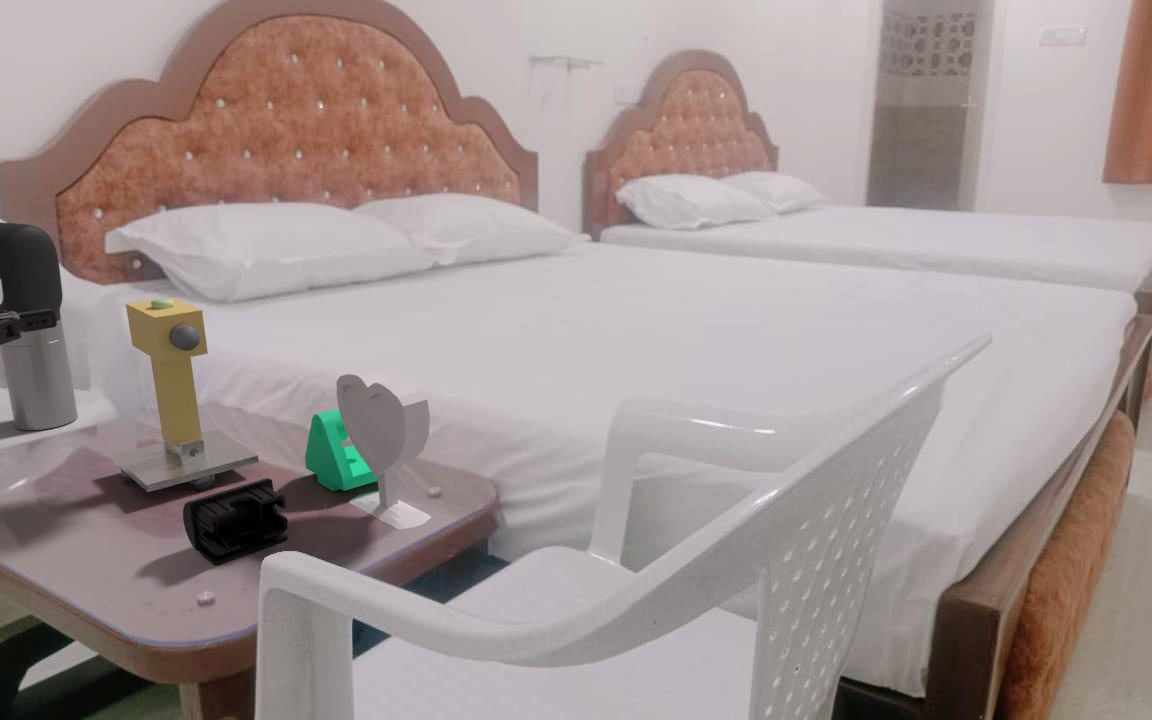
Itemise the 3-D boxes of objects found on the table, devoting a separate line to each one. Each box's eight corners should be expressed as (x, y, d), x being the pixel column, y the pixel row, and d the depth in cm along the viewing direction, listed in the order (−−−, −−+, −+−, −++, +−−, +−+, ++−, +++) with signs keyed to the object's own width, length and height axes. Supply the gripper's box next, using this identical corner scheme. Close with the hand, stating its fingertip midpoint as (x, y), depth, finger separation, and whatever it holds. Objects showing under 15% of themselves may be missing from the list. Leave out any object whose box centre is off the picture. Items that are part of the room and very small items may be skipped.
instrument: (141, 429, 130) (120, 296, 124) (183, 419, 134) (165, 289, 128) (180, 459, 118) (159, 313, 113) (225, 447, 122) (206, 306, 117)
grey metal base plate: (114, 474, 128) (108, 434, 126) (220, 447, 138) (215, 410, 136) (149, 506, 117) (142, 464, 116) (261, 475, 127) (256, 435, 125)
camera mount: (396, 482, 123) (389, 411, 120) (344, 498, 118) (336, 424, 115) (356, 461, 131) (349, 394, 129) (306, 475, 127) (298, 405, 124)
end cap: (266, 521, 113) (260, 471, 111) (293, 539, 108) (287, 488, 106) (186, 548, 106) (179, 495, 104) (211, 569, 101) (204, 514, 99)
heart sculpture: (340, 497, 119) (328, 368, 114) (372, 486, 123) (362, 360, 118) (407, 534, 109) (398, 393, 104) (441, 521, 112) (433, 384, 107)
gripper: (-115, 364, 107) (47, 336, 118) (-101, 389, 97) (74, 356, 108) (-131, 303, 105) (36, 280, 116) (-118, 322, 95) (62, 296, 106)
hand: (54, 317), depth 112 cm, fingers closed
